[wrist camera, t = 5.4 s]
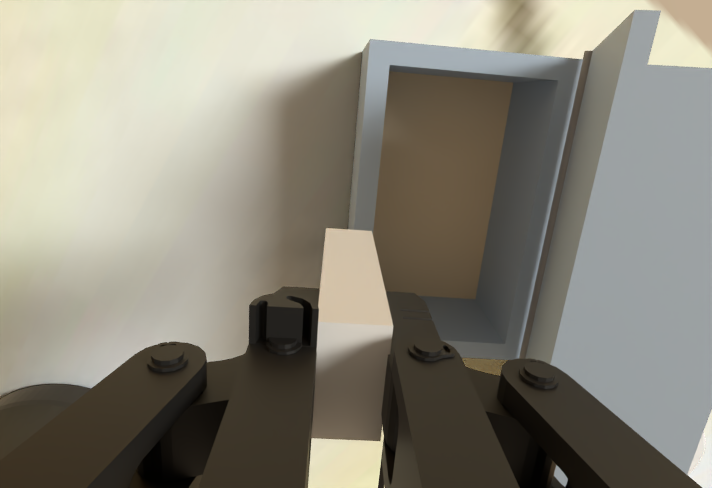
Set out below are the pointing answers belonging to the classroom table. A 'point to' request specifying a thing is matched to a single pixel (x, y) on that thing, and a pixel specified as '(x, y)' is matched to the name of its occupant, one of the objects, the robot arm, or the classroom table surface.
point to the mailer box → (461, 180)
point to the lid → (633, 244)
